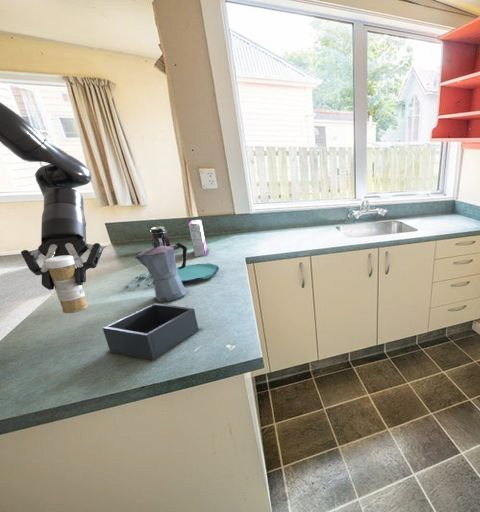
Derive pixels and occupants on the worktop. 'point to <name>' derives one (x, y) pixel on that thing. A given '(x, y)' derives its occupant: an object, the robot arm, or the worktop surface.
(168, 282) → the moka pot
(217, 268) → the teal oval tray
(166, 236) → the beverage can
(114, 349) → the open box
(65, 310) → the sprinkles bottle
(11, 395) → the worktop surface
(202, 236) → the candy bar box
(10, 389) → the worktop surface
